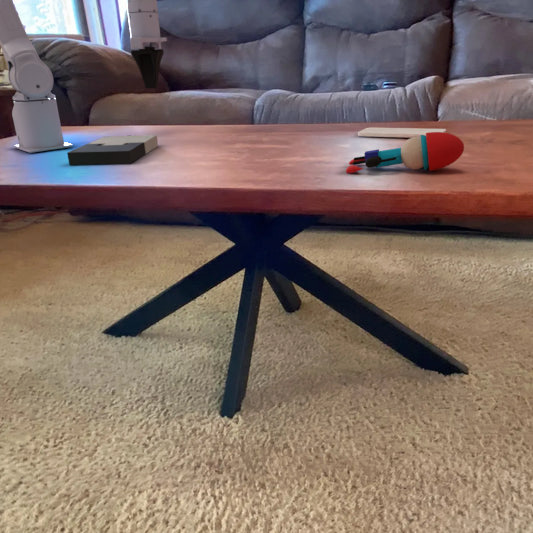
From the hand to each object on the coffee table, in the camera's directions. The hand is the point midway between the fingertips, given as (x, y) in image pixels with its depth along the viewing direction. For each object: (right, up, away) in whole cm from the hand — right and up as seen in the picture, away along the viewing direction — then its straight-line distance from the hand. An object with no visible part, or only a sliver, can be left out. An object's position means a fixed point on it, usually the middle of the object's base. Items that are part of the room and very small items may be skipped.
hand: (151, 88), depth 103 cm
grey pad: (-2, -16, -12) cm, 20 cm away
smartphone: (+48, -12, -8) cm, 51 cm away
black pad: (-3, -19, -20) cm, 27 cm away
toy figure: (+42, -23, -34) cm, 59 cm away
